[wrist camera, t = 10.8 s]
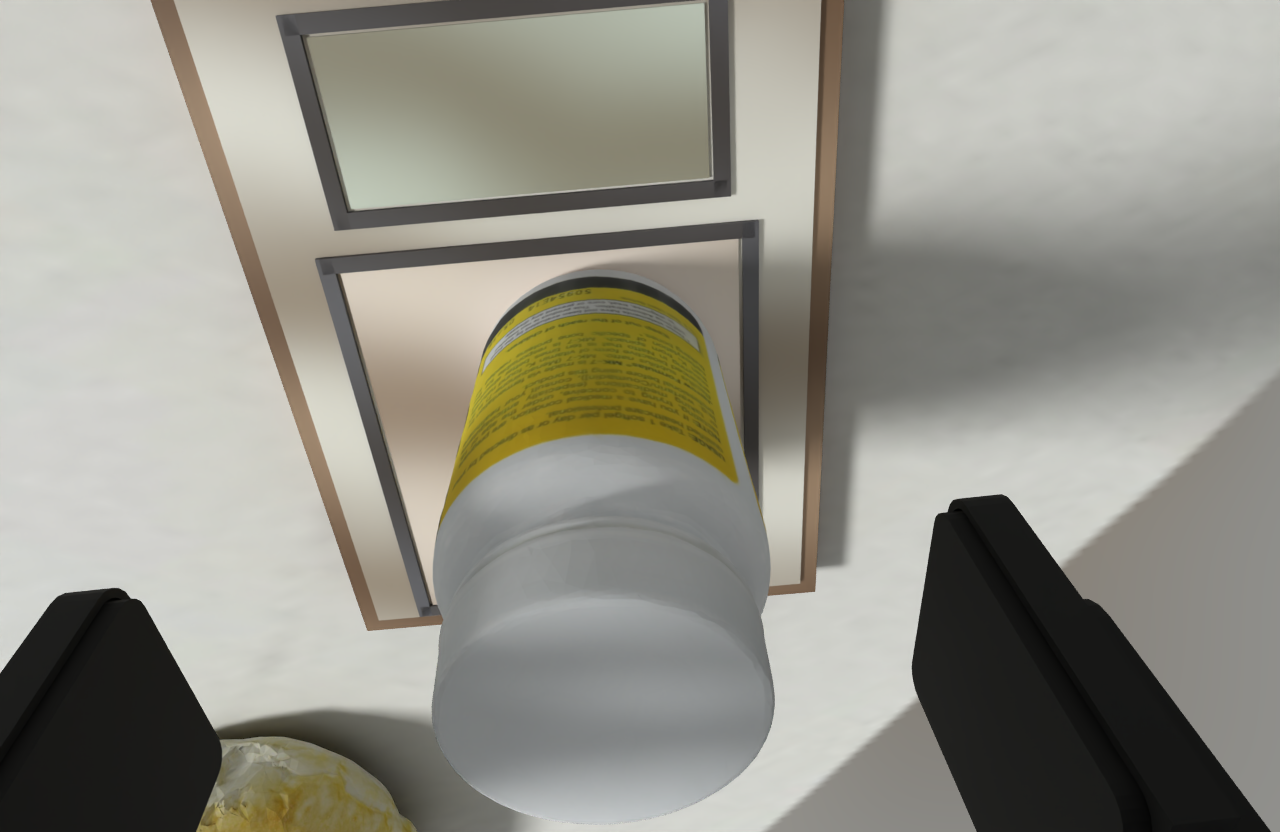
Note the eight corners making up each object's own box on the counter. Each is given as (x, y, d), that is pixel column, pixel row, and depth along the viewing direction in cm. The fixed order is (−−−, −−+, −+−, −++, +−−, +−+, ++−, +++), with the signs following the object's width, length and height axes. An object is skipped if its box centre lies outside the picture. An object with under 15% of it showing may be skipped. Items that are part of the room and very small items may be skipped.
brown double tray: (146, -85, 13) (97, -85, 12) (838, -145, 13) (864, -152, 12) (375, 607, 21) (360, 652, 20) (807, 569, 21) (821, 612, 20)
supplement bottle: (435, 330, 16) (301, 668, 9) (652, 219, 15) (704, 494, 8) (558, 504, 18) (534, 885, 11) (754, 417, 17) (867, 772, 10)
